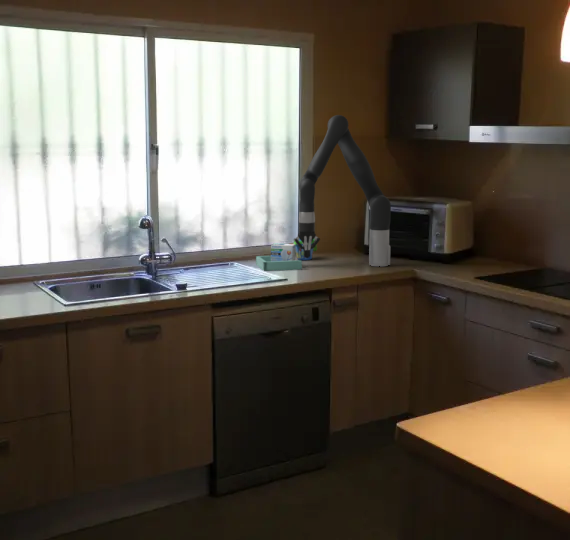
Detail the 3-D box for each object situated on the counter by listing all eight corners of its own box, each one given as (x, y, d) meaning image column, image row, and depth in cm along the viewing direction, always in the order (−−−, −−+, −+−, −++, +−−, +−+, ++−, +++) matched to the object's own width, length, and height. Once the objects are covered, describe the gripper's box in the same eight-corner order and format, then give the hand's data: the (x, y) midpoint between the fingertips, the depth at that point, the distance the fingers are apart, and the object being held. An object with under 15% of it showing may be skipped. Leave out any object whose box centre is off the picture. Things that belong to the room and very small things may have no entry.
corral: (292, 262, 367) (292, 254, 366) (301, 269, 350) (301, 260, 349) (255, 264, 363) (255, 256, 362) (263, 270, 346) (263, 262, 345)
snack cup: (298, 262, 369) (298, 241, 367) (285, 259, 377) (285, 239, 375) (323, 259, 378) (323, 239, 376) (309, 256, 386) (310, 236, 384)
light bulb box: (270, 267, 355) (270, 244, 353) (273, 265, 361) (273, 242, 359) (292, 268, 353) (292, 245, 351) (295, 266, 359) (295, 243, 357)
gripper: (318, 220, 361) (318, 255, 364) (291, 221, 358) (291, 257, 361) (322, 221, 354) (322, 258, 357) (295, 222, 350) (295, 259, 354)
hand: (306, 257), depth 359 cm, fingers closed
